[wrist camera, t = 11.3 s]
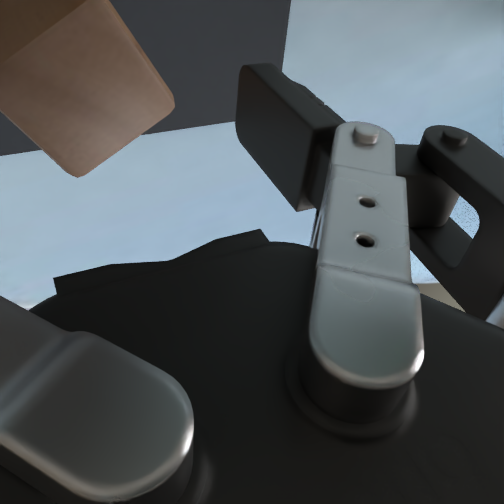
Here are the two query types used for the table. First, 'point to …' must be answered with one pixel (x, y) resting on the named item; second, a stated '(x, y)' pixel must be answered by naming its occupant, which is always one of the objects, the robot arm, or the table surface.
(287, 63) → the table surface
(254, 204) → the table surface
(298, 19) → the table surface
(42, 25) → the wooden block
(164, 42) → the mat
